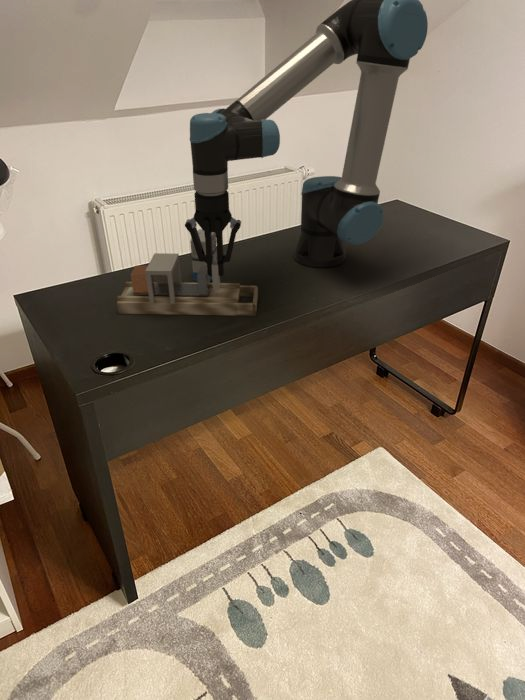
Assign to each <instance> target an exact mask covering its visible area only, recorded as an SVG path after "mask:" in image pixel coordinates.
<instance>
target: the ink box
mask: <svg viewBox="0 0 525 700" xmlns="http://www.w3.org/2000/svg"><path fill="white" fill-rule="evenodd" d="M197 231H198V234H199V238H200V241H201V244H202V247H203V250H204V253H205V255H206V244H205V234H204V230H203V229H202V228H200V229H198V230H197ZM212 252H213V260H217V243H216V233H215V232H212ZM190 253H191V262H192V263H191V264H192V265H191V266H192V274H193V275H192V277H193V281H194V282H198V281H197V275H198V272H199V269H200V266H207V263H205V262H200V261H199V259H198V256H197V253H196V250H195V247H194V244H193V241H192V238H190ZM209 277H210V282H211V281H213V280H212V276H209Z"/></svg>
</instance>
